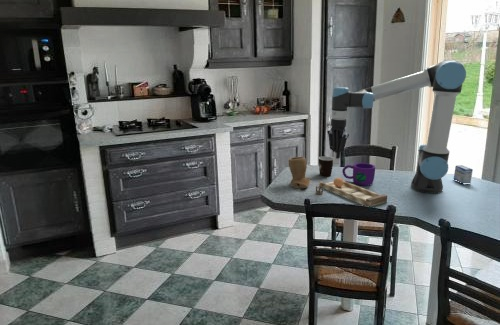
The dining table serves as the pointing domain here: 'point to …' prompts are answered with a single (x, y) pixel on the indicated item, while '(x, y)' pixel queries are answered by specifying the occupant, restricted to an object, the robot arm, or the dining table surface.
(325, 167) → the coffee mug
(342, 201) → the dining table surface
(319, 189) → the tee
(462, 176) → the medicine box
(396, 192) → the dining table surface
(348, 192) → the wooden compartment tray
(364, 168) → the mug
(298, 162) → the brown boot
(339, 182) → the ball
